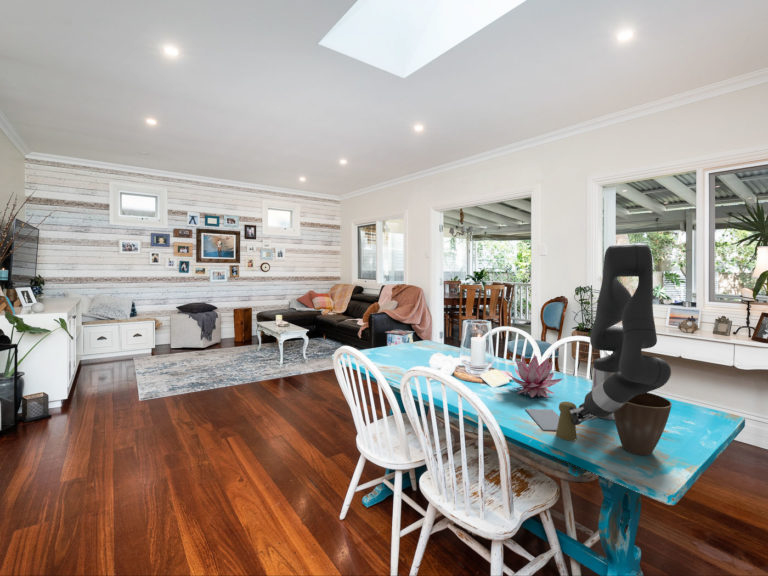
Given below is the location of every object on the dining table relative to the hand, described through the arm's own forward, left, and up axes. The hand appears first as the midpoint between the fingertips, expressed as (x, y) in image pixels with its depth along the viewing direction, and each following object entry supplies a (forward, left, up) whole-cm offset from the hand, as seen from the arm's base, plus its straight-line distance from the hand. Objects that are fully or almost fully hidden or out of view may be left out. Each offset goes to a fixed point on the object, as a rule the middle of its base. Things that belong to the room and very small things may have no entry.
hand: (574, 421), depth 118 cm
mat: (-15, -2, -6) cm, 17 cm away
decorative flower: (-42, +2, -6) cm, 43 cm away
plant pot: (+4, +17, -6) cm, 18 cm away
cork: (-3, -1, -6) cm, 7 cm away
